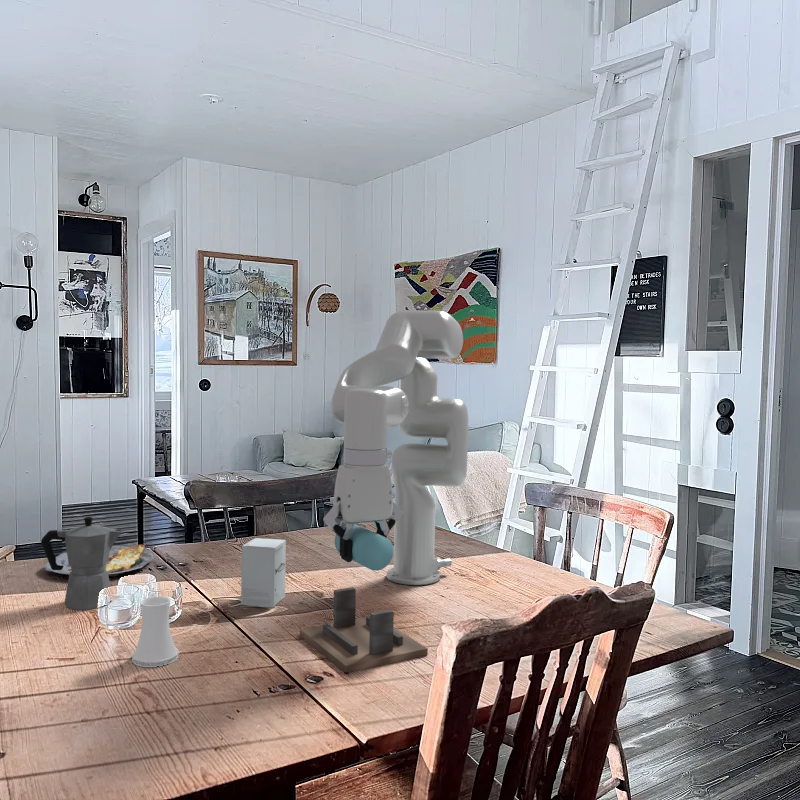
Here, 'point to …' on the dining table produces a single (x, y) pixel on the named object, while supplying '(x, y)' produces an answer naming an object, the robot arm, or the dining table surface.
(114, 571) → the food plate
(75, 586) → the coffeepot
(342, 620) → the roll holder
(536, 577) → the dining table surface
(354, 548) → the light blue cylinder
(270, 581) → the supplement box
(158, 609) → the vase
